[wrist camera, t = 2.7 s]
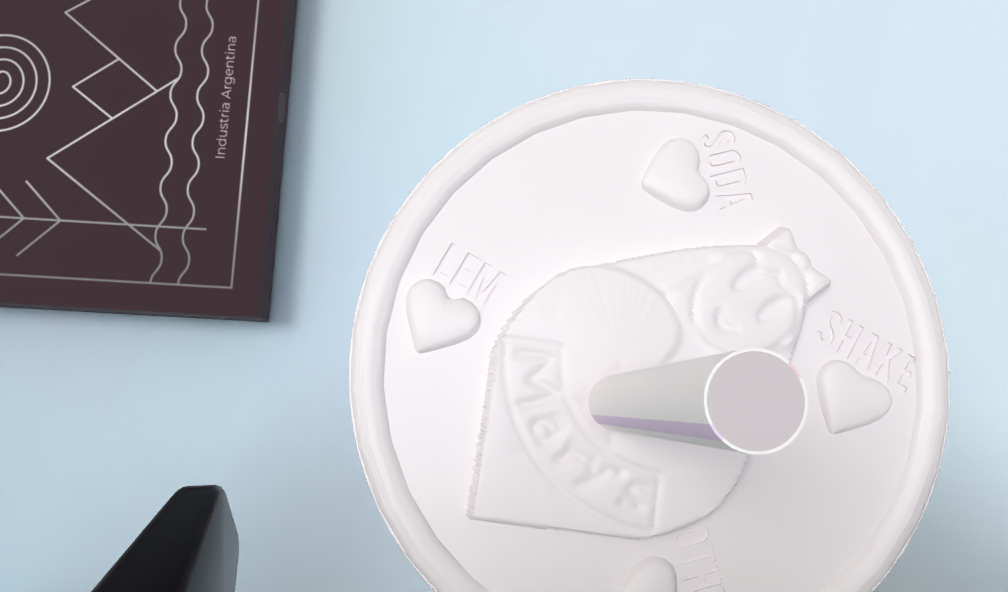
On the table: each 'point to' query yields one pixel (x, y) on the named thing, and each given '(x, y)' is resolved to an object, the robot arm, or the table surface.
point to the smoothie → (648, 355)
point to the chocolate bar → (142, 154)
